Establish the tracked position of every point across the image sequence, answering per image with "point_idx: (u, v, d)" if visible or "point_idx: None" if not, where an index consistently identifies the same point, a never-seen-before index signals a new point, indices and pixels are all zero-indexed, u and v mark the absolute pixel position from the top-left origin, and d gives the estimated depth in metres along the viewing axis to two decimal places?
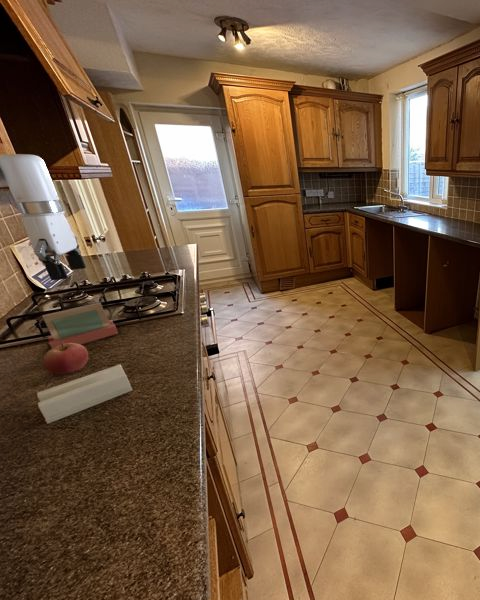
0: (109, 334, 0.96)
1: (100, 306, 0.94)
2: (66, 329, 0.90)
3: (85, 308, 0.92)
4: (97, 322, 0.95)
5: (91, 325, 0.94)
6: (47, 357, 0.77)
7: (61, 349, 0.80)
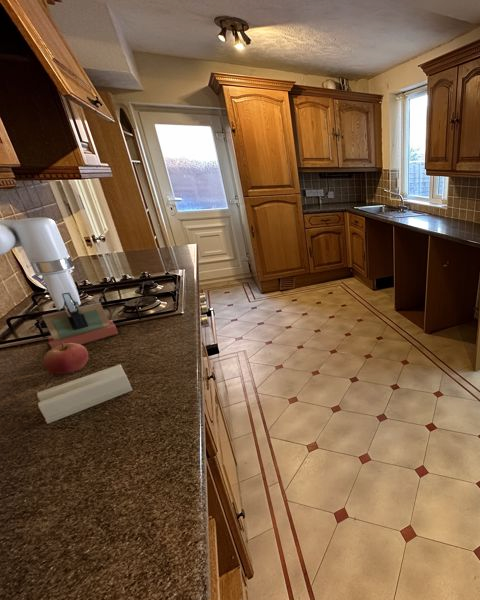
0: (109, 334, 0.96)
1: (100, 306, 0.94)
2: (66, 329, 0.90)
3: (85, 308, 0.92)
4: (97, 322, 0.95)
5: (91, 325, 0.94)
6: (47, 357, 0.77)
7: (61, 349, 0.80)
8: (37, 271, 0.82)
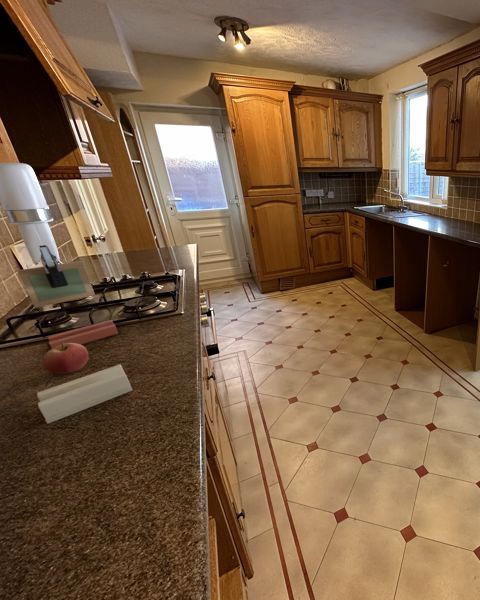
0: (109, 334, 0.96)
1: (81, 265, 0.89)
2: (44, 287, 0.84)
3: (65, 265, 0.86)
4: (78, 282, 0.89)
5: (71, 284, 0.88)
6: (47, 357, 0.77)
7: (61, 349, 0.80)
8: (12, 220, 0.77)
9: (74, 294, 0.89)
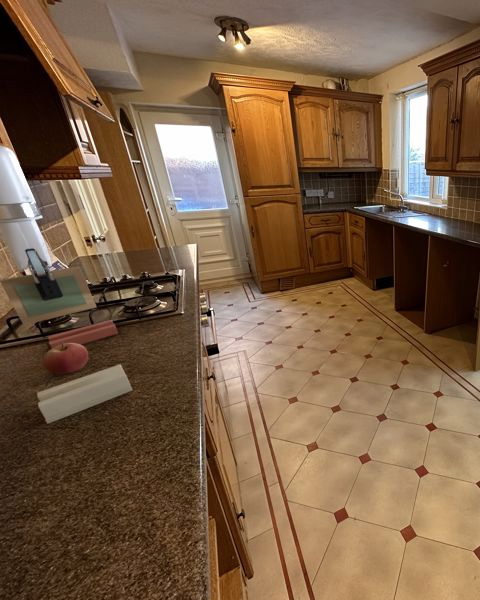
0: (109, 334, 0.96)
1: (79, 271, 0.73)
2: (33, 299, 0.69)
3: (59, 272, 0.71)
4: (75, 292, 0.74)
5: (67, 295, 0.73)
6: (47, 357, 0.77)
7: (61, 349, 0.80)
8: None
9: (71, 307, 0.74)
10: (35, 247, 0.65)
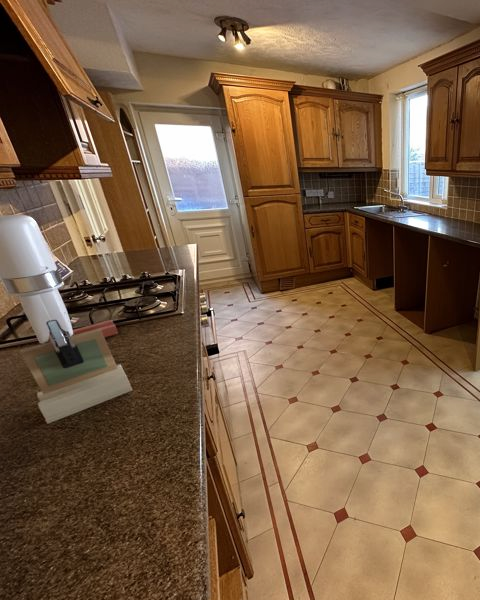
0: (109, 334, 0.96)
1: (100, 334, 0.70)
2: (54, 367, 0.66)
3: (80, 338, 0.68)
4: (96, 355, 0.71)
5: (88, 360, 0.70)
6: None
7: None
8: (10, 291, 0.58)
9: (92, 371, 0.71)
10: (57, 318, 0.62)
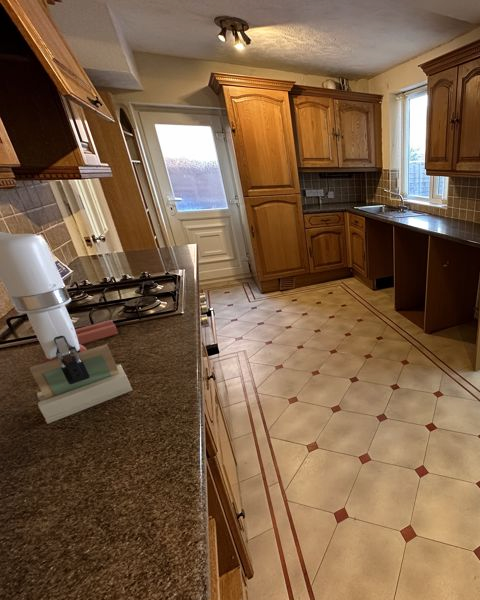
0: (109, 334, 0.96)
1: (107, 350, 0.72)
2: (62, 383, 0.68)
3: (87, 354, 0.69)
4: (103, 371, 0.72)
5: (95, 375, 0.71)
6: None
7: None
8: (19, 308, 0.60)
9: None
10: (64, 334, 0.63)
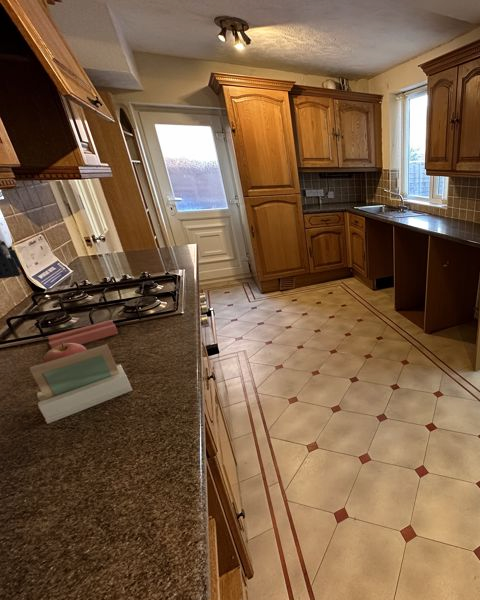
0: (109, 334, 0.96)
1: (107, 350, 0.72)
2: (62, 383, 0.68)
3: (87, 354, 0.69)
4: (103, 371, 0.72)
5: (95, 375, 0.71)
6: (47, 357, 0.77)
7: (61, 349, 0.80)
8: None
9: None
10: None
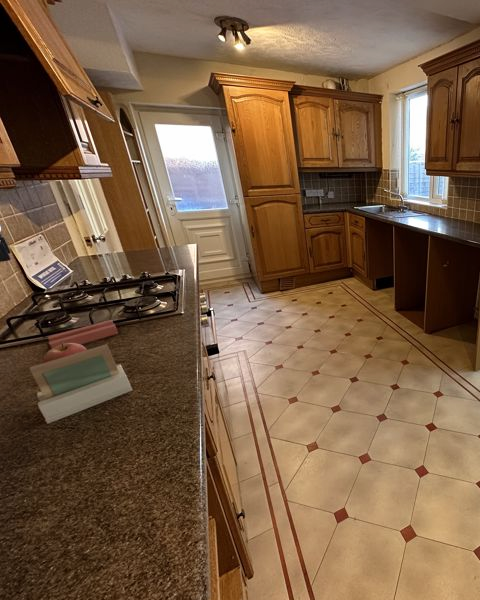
0: (109, 334, 0.96)
1: (107, 350, 0.72)
2: (62, 383, 0.68)
3: (87, 354, 0.69)
4: (103, 371, 0.72)
5: (95, 375, 0.71)
6: (47, 357, 0.77)
7: (61, 349, 0.80)
8: None
9: None
10: None
